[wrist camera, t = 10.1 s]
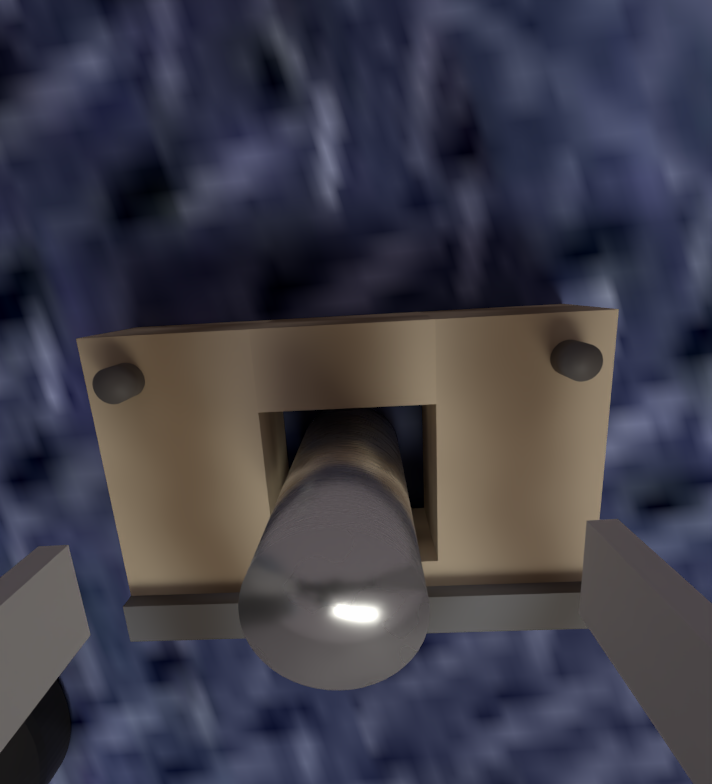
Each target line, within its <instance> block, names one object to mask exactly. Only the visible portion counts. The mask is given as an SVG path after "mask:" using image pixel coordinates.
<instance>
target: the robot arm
mask: <svg viewBox="0 0 712 784" xmlns="http://www.w3.org/2000/svg"><path fill="white" fill-rule="evenodd" d="M579 615H580V616H581V618H582V619H583V620H584V622H585V623H586V625H587V626H588V628H589V629H590V631H591V632H592V634H593V635H594V637H595V638H596V640H597V641H598V643H599V644H600V646H601V647H602V649H603V650H604V652H605V653H606V655H607V656H608V658H609V659H610V661H611V662H612V664H613V665H614V666H615V668H616V669H617V671H618V672H619V674H620V675H621V677H622V678H623V680H624V681H625V683H626V684H627V686H628V687H629V689H630V690H631V692H632V693H633V695H634V696H635V698H636V699H637V701H638V702H639V704H640V705H641V707H642V708H643V710H644V711H645V713H646V714H647V715H648V717H649V718H650V720H651V721H652V723H653V724H654V726H655V727H656V729H657V730H658V732H659V733H660V735H661V736H662V738H663V739H664V741H665V742H666V744H667V745H668V747H669V748H670V750H671V751H672V753H673V754H674V756H675V757H676V759H677V760H678V761H679V763H680V764H681V766H682V767H683V769H684V770H685V772H686V773H687V775H688V776H689V778H690V779H691V781H692V782H693V784H712V603H710V602H709V601H708V600H707V599H706V598H705V597H704V596H703V595H702V594H700V593H699V592H698V591H697V590H696V589H695V588H694V587H693V586H692V585H690V584H689V583H688V582H687V581H686V580H685V579H684V578H683V577H682V576H680V575H679V574H678V573H677V572H676V571H675V570H674V569H673V568H671V567H670V566H669V565H668V564H667V563H666V562H665V561H664V560H663V559H661V558H660V557H659V556H658V555H657V554H656V553H655V552H654V551H653V550H651V549H650V548H649V547H648V546H647V545H646V544H645V543H644V542H643V541H641V540H640V539H639V538H638V537H637V536H636V535H635V534H634V533H633V532H631V531H630V530H629V529H628V528H627V527H626V526H625V525H624V524H623V523H621V522H620V521H619V520H618V519H609V520H588V521H587V523H586V535H585V547H584V559H583V571H582V583H581V595H580V607H579ZM89 636H90V631H89V627H88V623H87V619H86V615H85V611H84V607H83V603H82V599H81V595H80V591H79V587H78V583H77V579H76V575H75V571H74V567H73V563H72V558H71V554H70V550H69V546H68V545H59V546H39V547H37V548H36V549H35V550H34V551H32V552H31V553H30V554H29V555H28V556H26V557H25V558H24V559H23V560H21V561H20V562H19V563H18V564H17V565H15V566H14V567H13V568H12V569H10V570H9V571H8V572H7V573H6V574H4V575H3V576H2V577H1V578H0V784H49V783H50V781H51V779H52V778H53V776H54V775H55V773H56V772H57V770H58V768H59V767H60V765H61V764H62V762H63V760H64V758H65V755H66V752H67V749H68V746H69V741H70V731H71V726H70V715H69V710H68V705H67V702H66V699H65V696H64V694H63V691H62V689H61V687H60V685H59V683H58V681H57V678H58V677H59V675H60V674H61V673H62V671H63V670H64V669H65V668H66V666H67V665H68V664H69V662H70V661H71V660H72V658H73V657H74V656H75V654H76V653H77V652H78V651H79V649H80V648H81V647H82V645H83V644H84V643H85V641H86V640H87V639H88V637H89Z"/></svg>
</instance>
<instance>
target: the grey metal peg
mask: <svg viewBox="0 0 712 784" xmlns="http://www.w3.org/2000/svg"><path fill="white" fill-rule="evenodd" d="M238 611H239V619H240V624H241V627H242V630H243V633H244V635H245V637H246V639H247V641H248V643H249V645H250V646H251V648H252V649H253V650H254V652H255V653H256V654H257V656H258V657H259V658H260V659H261V660H262V661H263V662H264V663H265V664H266V665H268V666H269V667H270V668H271V669H273V670H274V671H276V672H277V673H279V674H280V675H282V676H283V677H286V678H288V679H290V680H292V681H294V682H297V683H299V684H302V685H305V686H309V687H313V688H318V689H325V690H350V689H356V688H362V687H366V686H369V685H372V684H375V683H378V682H380V681H382V680H385V679H387V678H388V677H390V676H392V675H393V674H395V673H396V672H398V671H399V670H400V669H402V668H403V667H404V666H405V665H406V664H407V663H408V662H409V661H410V660H411V659H412V658H413V657H414V655H415V654H416V653H417V652H418V650H419V648H420V646H421V645H422V643H423V641H424V638H425V636H426V633H427V630H428V625H429V618H430V607H429V598H428V593H427V588H426V583H425V578H424V573H423V567H422V562H421V557H420V552H419V547H418V542H417V537H416V531H415V526H414V521H413V516H412V511H411V506H410V501H409V495H408V490H407V485H406V480H405V475H404V470H403V465H402V459H401V454H400V449H399V444H398V439H397V436H396V433H395V431H394V429H393V427H392V425H391V424H390V423H389V421H388V420H387V419H386V418H385V417H384V416H383V415H382V414H380V413H379V412H378V411H376V410H374V409H372V408H370V407H366V408H345V409H326V410H324V411H323V412H321V413H320V414H318V415H317V416H316V417H315V418H314V419H313V421H312V422H311V423H310V424H309V426H308V428H307V430H306V432H305V435H304V437H303V439H302V442H301V444H300V447H299V449H298V451H297V454H296V456H295V459H294V461H293V463H292V466H291V468H290V470H289V473H288V475H287V478H286V480H285V482H284V485H283V487H282V490H281V492H280V494H279V497H278V499H277V502H276V504H275V506H274V509H273V511H272V513H271V516H270V518H269V521H268V523H267V525H266V528H265V530H264V533H263V535H262V537H261V540H260V542H259V545H258V547H257V549H256V552H255V554H254V557H253V559H252V561H251V564H250V566H249V568H248V571H247V573H246V576H245V578H244V580H243V583H242V585H241V589H240V594H239V602H238Z"/></svg>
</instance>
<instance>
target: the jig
mask: <svg viewBox="0 0 712 784" xmlns="http://www.w3.org/2000/svg"><path fill="white" fill-rule="evenodd" d="M618 311H619V309H610V308H600V307H590V306H579V305H569V304H553V305H534V306H516V307H498V308H480V309H462V310H443V311H425V312H407V313H389V314H371V315H352V316H334V317H316V318H298V319H279V320H261V321H243V322H225V323H207V324H188V325H170V326H152V327H136V328H131V329H126V330H120V331H115V332H109V333H104V334H99V335H93V336H88V337H83V338H77V339H76V341H77V345H78V350H79V355H80V359H81V364H82V369H83V373H84V378H85V383H86V387H87V392H88V397H89V401H90V406H91V411H92V415H93V420H94V425H95V429H96V434H97V439H98V443H99V448H100V453H101V457H102V462H103V467H104V471H105V476H106V481H107V485H108V490H109V495H110V499H111V504H112V509H113V513H114V518H115V522H116V527H117V532H118V536H119V541H120V546H121V550H122V555H123V560H124V564H125V569H126V574H127V578H128V583H129V588H130V592H131V597H130V598H129V600H128V601H127V602H126V604H125V605H124V606H123V610H124V614H125V619H126V623H127V628H128V632H129V637H130V641H131V642H133V641H168V640H203V639H238V638H246V637H245V635H244V633H243V630H242V627H241V624H240V619H239V611H238V602H239V594H240V589H241V585H242V583H243V580H244V578H245V576H246V573H247V571H248V568H249V566H250V564H251V561H252V559H253V557H254V554H255V552H256V549H257V547H258V545H259V542H260V540H261V537H262V535H263V533H264V530H265V528H266V525H267V523H268V521H269V518H270V516H271V513H272V511H273V509H274V506H275V504H276V502H277V499H278V497H279V494H280V492H281V490H282V487H283V485H284V482H285V480H286V478H287V475H288V473H289V466H288V456H287V446H286V436H285V426H284V417H283V411H302V410H323V409H345V408H366V407H387V406H408V405H422V428H423V481H424V508H411V511H412V516H413V521H414V526H415V531H416V537H417V542H418V547H419V552H420V557H421V562H422V567H423V573H424V578H425V583H426V588H427V593H428V598H429V607H430V618H429V625H428V630H427V633H448V632H483V631H518V630H553V629H588V626H587V625H586V623H585V622H584V620H583V619H582V618H581V616H580V615H579V607H580V595H581V583H582V571H583V559H584V547H585V535H586V523H587V521H588V520H599V517H600V507H601V496H602V485H603V474H604V463H605V452H606V441H607V430H608V420H609V409H610V398H611V387H612V376H613V365H614V354H615V343H616V333H617V322H618Z"/></svg>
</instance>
